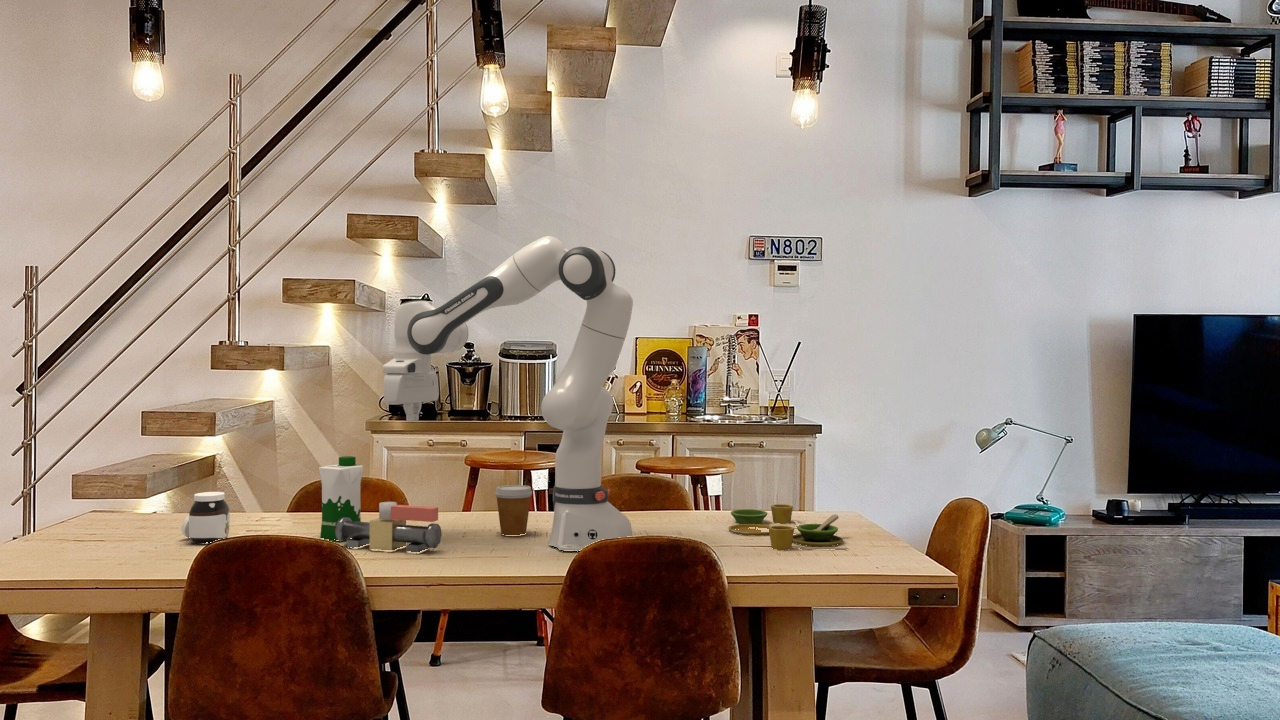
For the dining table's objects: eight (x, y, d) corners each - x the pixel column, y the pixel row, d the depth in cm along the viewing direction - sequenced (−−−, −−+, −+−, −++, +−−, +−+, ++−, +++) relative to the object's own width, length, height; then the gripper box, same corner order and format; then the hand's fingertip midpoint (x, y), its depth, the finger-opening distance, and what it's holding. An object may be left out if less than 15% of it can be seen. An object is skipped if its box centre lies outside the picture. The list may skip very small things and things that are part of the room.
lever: (375, 518, 223) (375, 503, 223) (385, 516, 227) (385, 501, 227) (431, 522, 219) (431, 507, 219) (439, 519, 223) (439, 504, 223)
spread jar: (216, 545, 228) (216, 497, 228) (168, 545, 228) (168, 496, 228) (237, 535, 240) (237, 489, 240) (192, 535, 240) (192, 489, 240)
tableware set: (851, 554, 224) (852, 527, 224) (733, 553, 225) (733, 526, 225) (824, 522, 266) (824, 499, 266) (724, 521, 267) (724, 498, 267)
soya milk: (367, 537, 239) (367, 457, 239) (340, 543, 231) (340, 461, 231) (341, 533, 243) (341, 455, 243) (313, 540, 235) (313, 458, 235)
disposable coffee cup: (535, 531, 247) (535, 485, 247) (527, 538, 238) (528, 490, 238) (499, 530, 248) (499, 484, 248) (490, 537, 239) (490, 489, 239)
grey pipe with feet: (441, 550, 224) (442, 520, 223) (428, 555, 218) (428, 525, 218) (349, 543, 231) (349, 514, 231) (334, 548, 226) (334, 518, 226)
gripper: (423, 364, 249) (423, 417, 249) (378, 366, 229) (378, 423, 230) (445, 365, 247) (444, 418, 247) (401, 366, 227) (401, 424, 228)
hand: (412, 421), depth 238 cm, fingers closed
